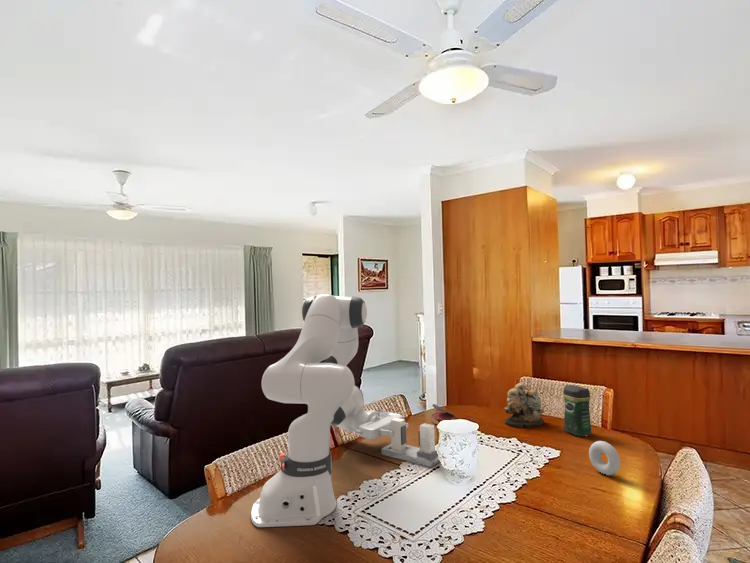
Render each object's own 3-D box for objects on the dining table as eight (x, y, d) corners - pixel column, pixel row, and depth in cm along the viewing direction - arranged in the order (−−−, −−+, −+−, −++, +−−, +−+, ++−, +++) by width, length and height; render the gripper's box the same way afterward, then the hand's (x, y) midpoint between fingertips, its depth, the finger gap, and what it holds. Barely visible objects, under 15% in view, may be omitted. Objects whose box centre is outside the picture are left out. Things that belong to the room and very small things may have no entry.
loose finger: (391, 453, 150) (390, 419, 150) (396, 450, 153) (395, 417, 153) (402, 456, 148) (401, 422, 148) (407, 453, 150) (406, 419, 150)
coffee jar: (595, 435, 164) (594, 387, 164) (579, 438, 161) (578, 389, 161) (576, 428, 173) (574, 382, 173) (560, 430, 170) (559, 384, 170)
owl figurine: (512, 430, 173) (510, 388, 173) (497, 421, 184) (496, 382, 184) (551, 425, 177) (549, 384, 177) (534, 417, 188) (532, 379, 188)
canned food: (433, 430, 187) (431, 407, 192) (456, 429, 185) (453, 405, 190) (431, 426, 177) (429, 402, 182) (455, 424, 176) (452, 400, 181)
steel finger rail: (381, 454, 150) (380, 420, 150) (394, 447, 156) (393, 414, 157) (431, 467, 138) (430, 430, 138) (442, 459, 144) (441, 424, 145)
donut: (623, 479, 127) (622, 446, 127) (615, 481, 125) (614, 448, 126) (594, 466, 136) (593, 435, 136) (586, 468, 135) (585, 437, 135)
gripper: (351, 422, 150) (383, 429, 142) (384, 408, 166) (414, 413, 158) (351, 439, 150) (383, 448, 142) (384, 424, 166) (415, 430, 158)
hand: (400, 429), depth 150 cm, fingers open, 8 cm apart
